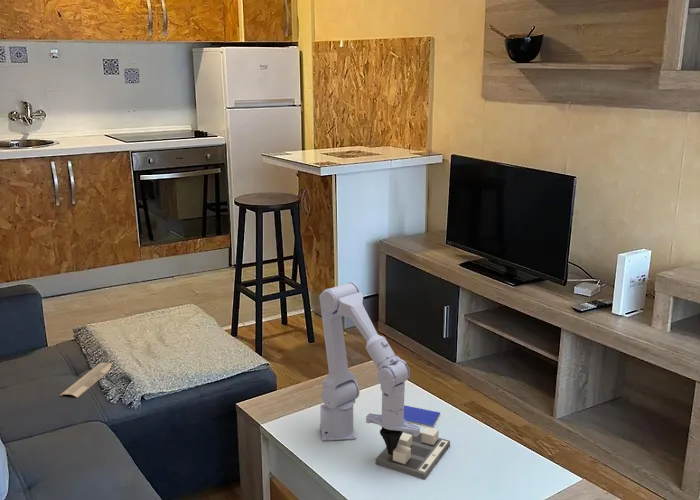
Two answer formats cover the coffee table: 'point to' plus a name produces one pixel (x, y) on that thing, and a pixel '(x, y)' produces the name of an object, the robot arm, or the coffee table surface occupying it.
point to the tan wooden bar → (88, 380)
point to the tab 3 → (430, 435)
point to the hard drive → (420, 416)
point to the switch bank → (416, 457)
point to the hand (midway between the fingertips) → (391, 452)
